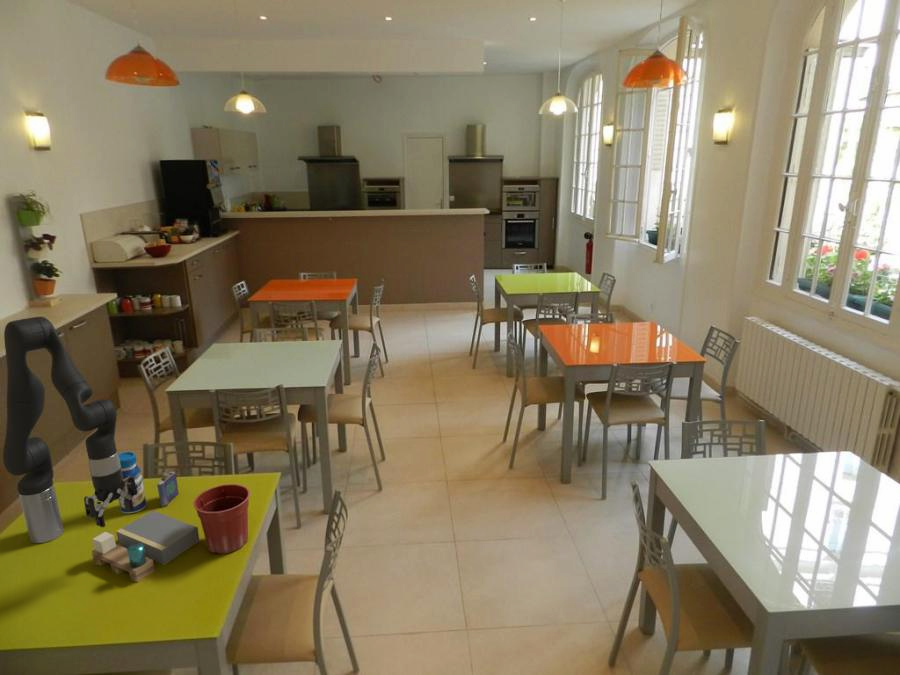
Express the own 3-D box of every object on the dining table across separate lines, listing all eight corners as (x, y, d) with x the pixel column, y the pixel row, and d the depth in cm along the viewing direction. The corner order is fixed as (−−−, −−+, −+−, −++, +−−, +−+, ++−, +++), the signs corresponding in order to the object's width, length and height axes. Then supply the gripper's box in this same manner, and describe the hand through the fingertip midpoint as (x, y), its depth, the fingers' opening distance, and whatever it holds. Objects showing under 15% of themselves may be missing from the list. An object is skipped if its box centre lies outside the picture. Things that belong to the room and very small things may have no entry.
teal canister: (127, 565, 174) (124, 549, 173) (140, 556, 178) (137, 541, 176) (136, 569, 172) (133, 553, 171) (149, 560, 176) (146, 545, 174)
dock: (119, 545, 189) (116, 531, 188) (155, 523, 200) (152, 510, 199) (164, 564, 180) (161, 550, 179) (199, 540, 191) (197, 526, 190)
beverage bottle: (139, 498, 215) (130, 447, 209) (152, 506, 210) (142, 454, 205) (115, 509, 209) (105, 457, 203) (128, 517, 204) (117, 464, 198)
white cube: (95, 550, 181) (92, 538, 180) (107, 542, 184) (105, 531, 183) (103, 554, 179) (101, 542, 178) (116, 546, 182) (113, 535, 181)
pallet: (94, 562, 181) (91, 551, 180) (111, 552, 186) (109, 541, 185) (137, 582, 173) (135, 571, 171) (154, 571, 177) (152, 559, 176)
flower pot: (219, 524, 200) (213, 481, 195) (265, 529, 196) (259, 486, 192) (189, 555, 184) (181, 509, 179) (238, 562, 181) (231, 515, 176)
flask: (165, 507, 210) (161, 480, 206) (157, 506, 210) (153, 479, 207) (180, 493, 218) (176, 466, 215) (173, 492, 219) (168, 466, 216)
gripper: (120, 455, 178) (129, 503, 183) (72, 477, 166) (84, 528, 170) (137, 460, 175) (146, 509, 179) (89, 483, 163) (100, 535, 167)
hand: (115, 518), depth 175 cm, fingers open, 8 cm apart
